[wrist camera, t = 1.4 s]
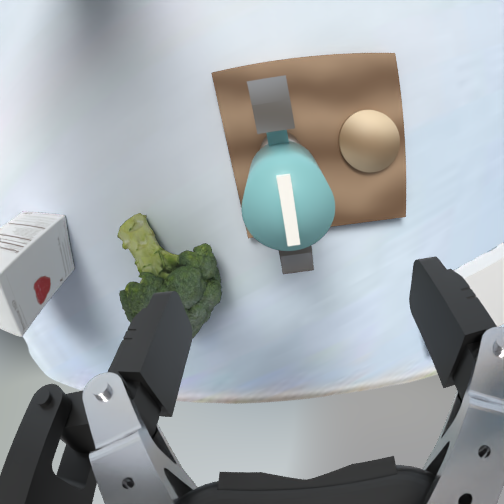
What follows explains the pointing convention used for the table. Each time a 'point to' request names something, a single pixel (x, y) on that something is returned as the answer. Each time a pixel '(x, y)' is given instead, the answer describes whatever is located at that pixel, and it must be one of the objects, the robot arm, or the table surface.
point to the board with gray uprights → (323, 129)
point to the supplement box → (31, 266)
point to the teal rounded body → (286, 196)
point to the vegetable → (169, 274)
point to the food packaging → (487, 281)
